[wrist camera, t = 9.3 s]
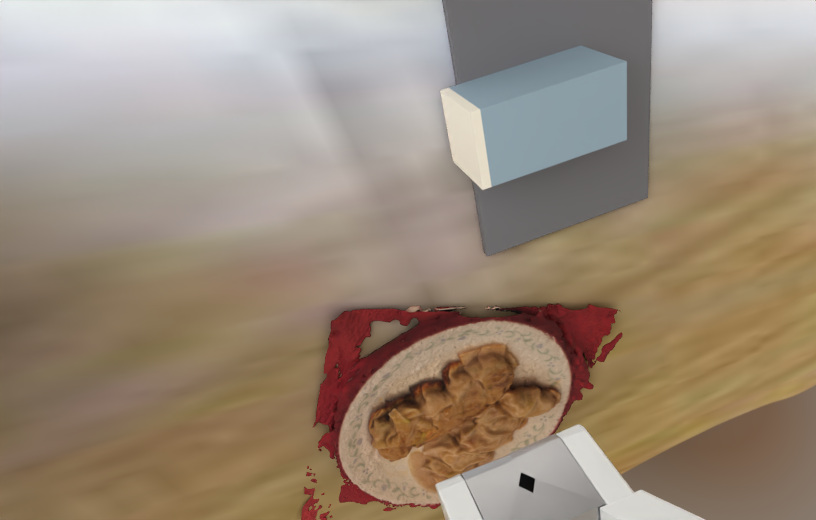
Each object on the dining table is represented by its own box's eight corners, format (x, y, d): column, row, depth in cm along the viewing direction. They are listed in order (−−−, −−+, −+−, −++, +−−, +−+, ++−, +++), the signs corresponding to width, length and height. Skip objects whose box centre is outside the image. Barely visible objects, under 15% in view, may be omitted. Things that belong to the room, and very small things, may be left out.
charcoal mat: (483, 252, 45) (487, 256, 45) (431, -65, 33) (434, -65, 33) (643, 194, 47) (647, 197, 47) (648, -125, 35) (654, -126, 35)
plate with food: (329, 299, 44) (336, 326, 41) (612, 300, 53) (634, 323, 50) (297, 510, 55) (302, 543, 52) (535, 484, 64) (550, 511, 61)
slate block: (482, 190, 36) (627, 139, 37) (470, 112, 33) (626, 61, 34) (453, 161, 40) (583, 117, 41) (439, 90, 37) (580, 45, 39)
